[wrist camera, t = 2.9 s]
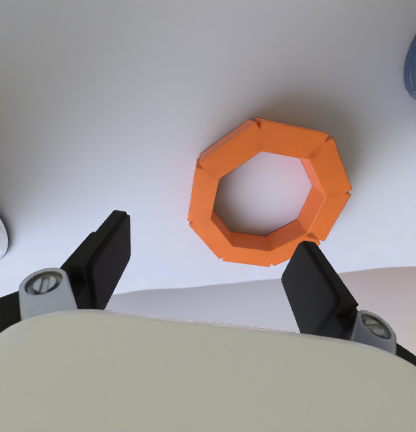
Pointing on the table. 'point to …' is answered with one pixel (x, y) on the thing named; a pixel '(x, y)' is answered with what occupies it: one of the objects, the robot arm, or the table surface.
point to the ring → (312, 210)
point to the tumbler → (411, 70)
